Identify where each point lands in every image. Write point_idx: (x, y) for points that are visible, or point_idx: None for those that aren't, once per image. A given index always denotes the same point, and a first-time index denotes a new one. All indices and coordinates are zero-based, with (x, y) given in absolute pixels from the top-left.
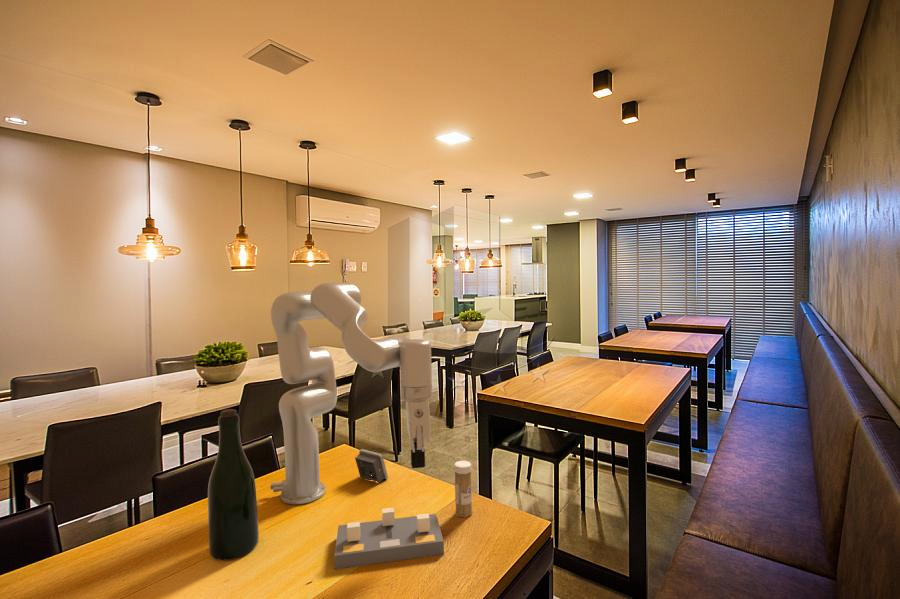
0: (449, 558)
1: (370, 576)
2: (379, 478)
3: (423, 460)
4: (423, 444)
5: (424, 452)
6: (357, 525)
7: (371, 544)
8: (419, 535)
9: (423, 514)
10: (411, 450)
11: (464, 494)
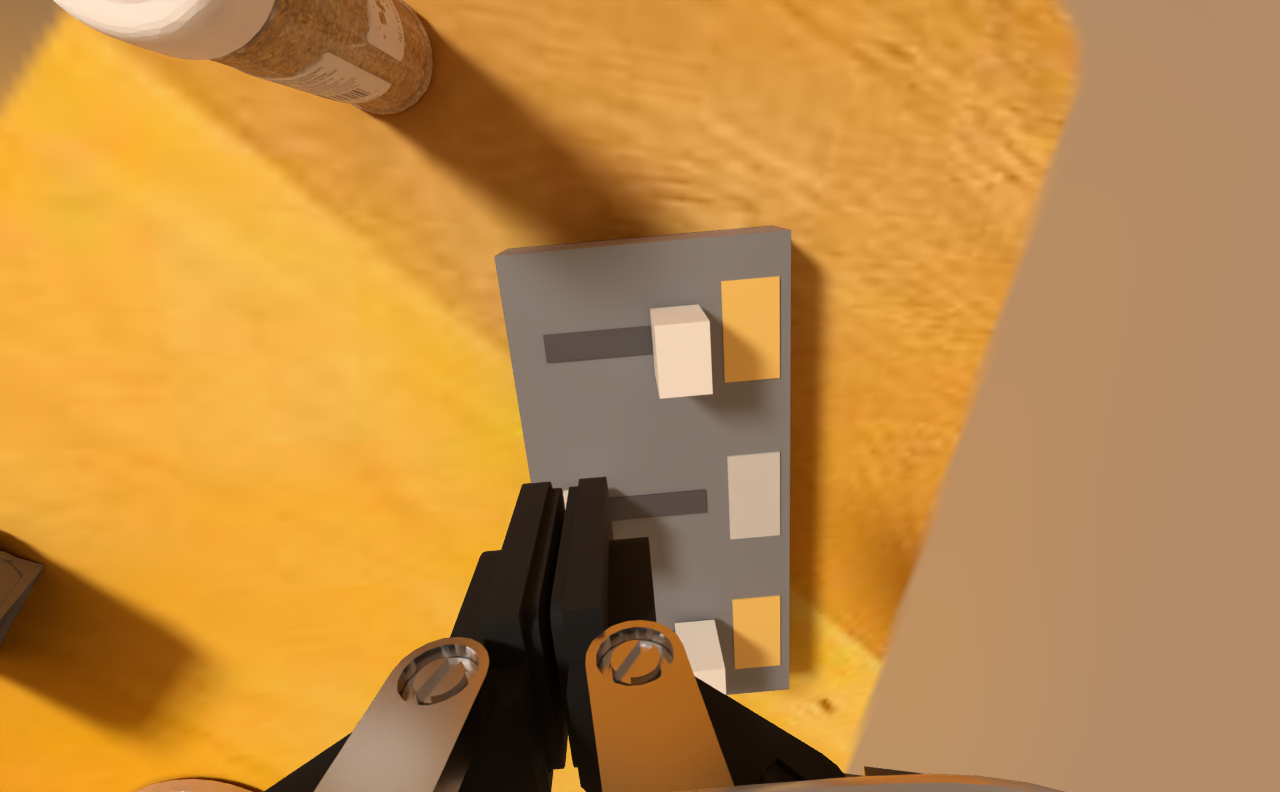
0: (810, 200)
1: (847, 529)
2: (9, 577)
3: (606, 532)
4: (725, 769)
5: (600, 592)
6: (716, 678)
7: (742, 569)
8: (711, 359)
9: (663, 357)
10: (548, 786)
11: (373, 11)
